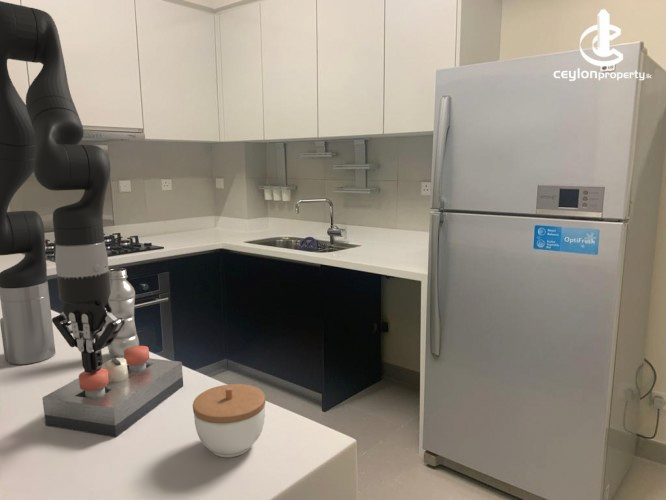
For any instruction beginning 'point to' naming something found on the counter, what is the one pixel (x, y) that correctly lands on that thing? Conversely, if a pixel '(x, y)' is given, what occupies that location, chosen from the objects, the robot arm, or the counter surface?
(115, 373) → the dial
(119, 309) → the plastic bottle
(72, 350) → the counter surface
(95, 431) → the panel
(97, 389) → the knob outer
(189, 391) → the counter surface
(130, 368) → the knob inner
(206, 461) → the counter surface
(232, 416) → the lidded jar
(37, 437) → the counter surface
